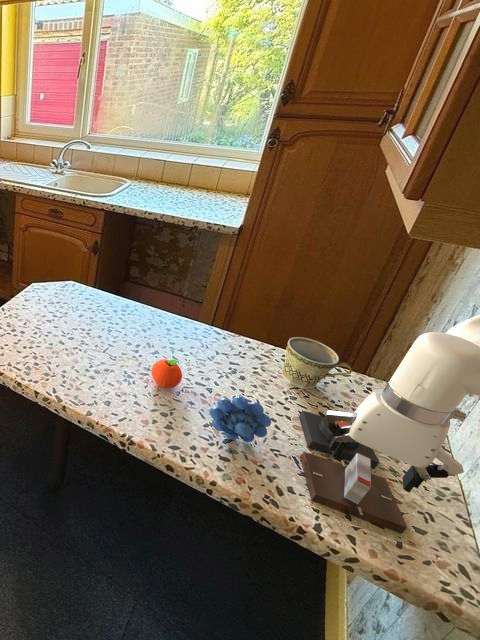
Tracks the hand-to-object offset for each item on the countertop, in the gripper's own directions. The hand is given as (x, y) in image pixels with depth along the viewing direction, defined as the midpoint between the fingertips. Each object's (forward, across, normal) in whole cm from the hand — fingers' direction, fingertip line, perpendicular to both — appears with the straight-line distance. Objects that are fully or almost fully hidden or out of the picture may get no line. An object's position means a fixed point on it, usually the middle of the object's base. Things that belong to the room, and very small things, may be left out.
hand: (368, 468), depth 73 cm
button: (+4, +3, -13) cm, 14 cm away
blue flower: (+7, +20, +2) cm, 21 cm away
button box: (+8, +3, -12) cm, 15 cm away
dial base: (+8, +1, 0) cm, 8 cm away
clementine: (+7, +36, -6) cm, 37 cm away
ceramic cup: (+8, +10, -29) cm, 32 cm away
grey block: (+6, +1, 0) cm, 6 cm away
